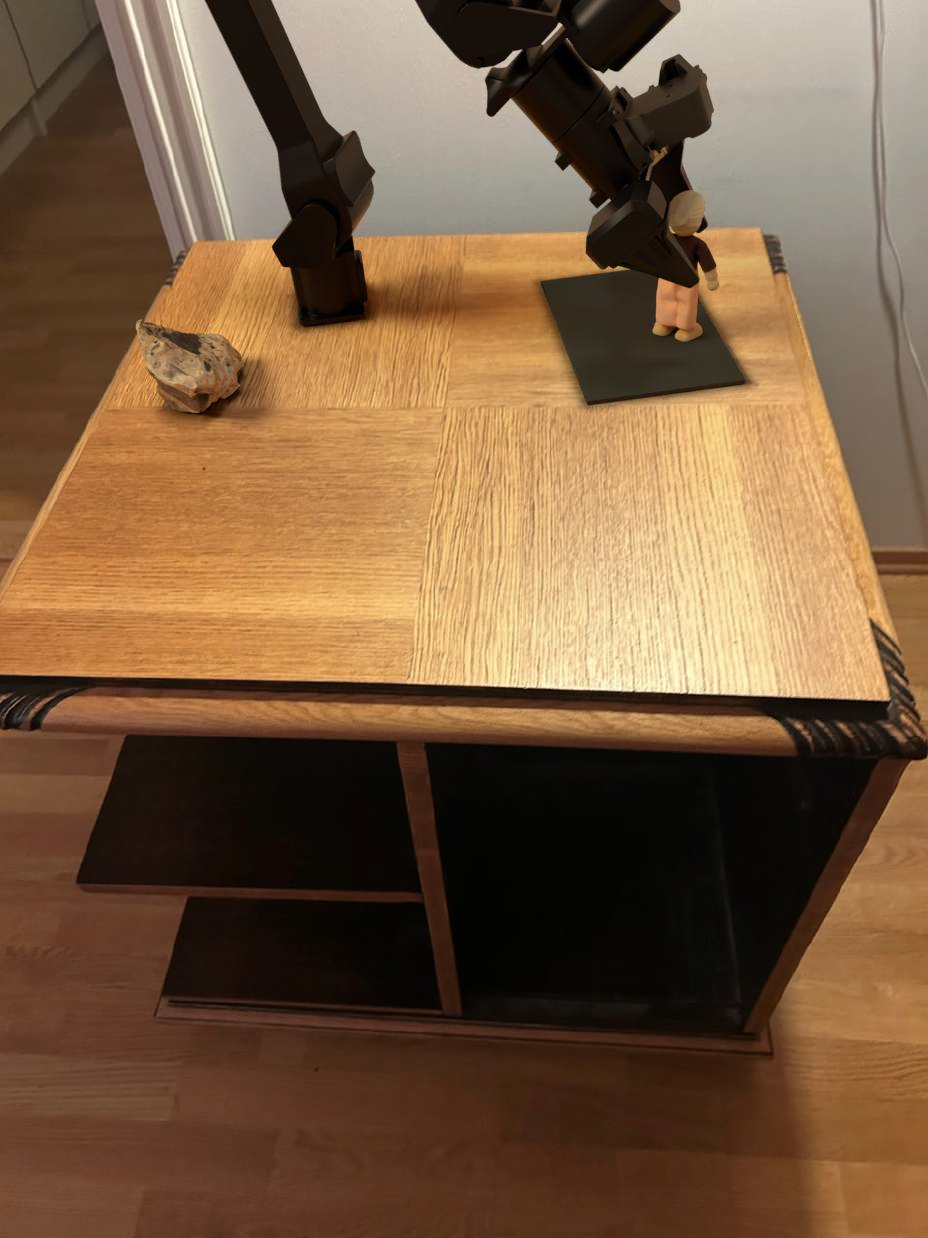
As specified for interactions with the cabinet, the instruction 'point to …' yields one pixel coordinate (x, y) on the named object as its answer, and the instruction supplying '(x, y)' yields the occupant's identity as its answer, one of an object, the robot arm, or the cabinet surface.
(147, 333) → the rock
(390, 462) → the cabinet surface
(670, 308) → the grandmother figurine
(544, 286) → the mat
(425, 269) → the cabinet surface
